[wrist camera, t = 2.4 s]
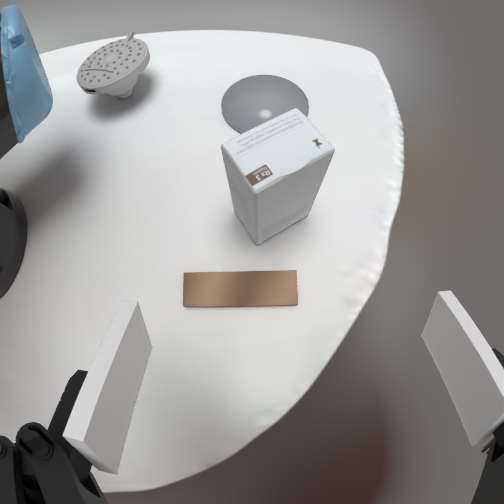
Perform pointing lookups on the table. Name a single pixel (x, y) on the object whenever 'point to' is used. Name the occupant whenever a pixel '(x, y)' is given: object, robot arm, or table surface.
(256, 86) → the coaster
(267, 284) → the walnut board
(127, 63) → the showerhead
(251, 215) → the skincare box
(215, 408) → the table surface
